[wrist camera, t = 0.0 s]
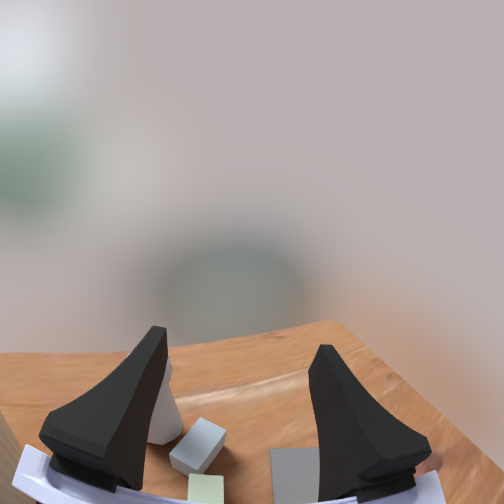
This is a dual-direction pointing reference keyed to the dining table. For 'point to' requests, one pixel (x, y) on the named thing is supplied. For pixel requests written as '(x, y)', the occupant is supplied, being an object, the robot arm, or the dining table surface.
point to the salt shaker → (165, 414)
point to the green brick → (206, 489)
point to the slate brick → (198, 448)
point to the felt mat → (295, 475)
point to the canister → (10, 466)
